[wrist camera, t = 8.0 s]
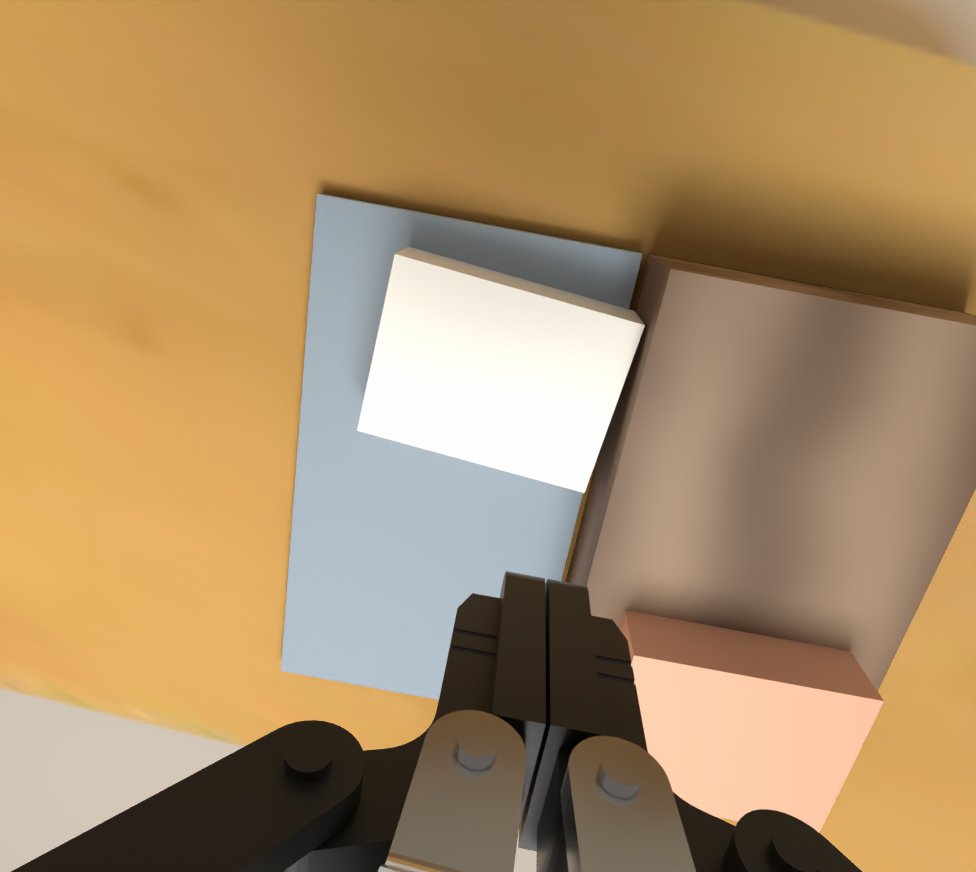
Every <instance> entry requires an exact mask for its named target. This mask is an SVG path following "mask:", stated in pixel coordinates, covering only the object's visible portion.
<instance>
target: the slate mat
mask: <svg viewBox="0 0 976 872" xmlns="http://www.w3.org/2000/svg"><path fill="white" fill-rule="evenodd" d="M408 246H409V247H412V248H416V249H419V250H423V251H426V252H430V253H433V254H437V255H440V256H444V257H447V258H451V259H454V260H458V261H461V262H465V263H468V264H472V265H475V266H479V267H482V268H486V269H489V270H493V271H496V272H500V273H503V274H507V275H510V276H514V277H517V278H521V279H524V280H528V281H531V282H535V283H538V284H542V285H545V286H549V287H552V288H556V289H559V290H563V291H566V292H570V293H573V294H577V295H580V296H584V297H587V298H591V299H594V300H598V301H601V302H605V303H608V304H612V305H615V306H619V307H622V308H626V309H629V307H630V303H631V299H632V295H633V291H634V287H635V283H636V279H637V275H638V271H639V267H640V263H641V259H642V255H643V254H641V253H640V252H635V251H629V250H624V249H618V248H613V247H608V246H602V245H597V244H592V243H586V242H581V241H575V240H570V239H565V238H559V237H554V236H548V235H543V234H538V233H532V232H527V231H521V230H516V229H511V228H505V227H500V226H494V225H489V224H484V223H478V222H473V221H467V220H462V219H457V218H451V217H446V216H440V215H435V214H430V213H424V212H419V211H413V210H408V209H403V208H397V207H392V206H386V205H381V204H376V203H370V202H365V201H359V200H354V199H349V198H343V197H338V196H333V195H327V194H317V199H316V212H315V226H314V239H313V252H312V265H311V279H310V292H309V305H308V318H307V331H306V345H305V358H304V371H303V384H302V398H301V411H300V424H299V437H298V451H297V464H296V477H295V490H294V504H293V517H292V530H291V543H290V557H289V570H288V583H287V596H286V610H285V623H284V636H283V649H282V663H281V671H284V672H290V673H295V674H301V675H306V676H312V677H317V678H322V679H328V680H333V681H339V682H344V683H350V684H355V685H361V686H366V687H372V688H377V689H383V690H388V691H394V692H399V693H405V694H410V695H415V696H421V697H426V698H432V699H437V700H439V697H440V692H441V687H442V682H443V677H444V672H445V667H446V662H447V658H448V653H449V648H450V643H451V638H452V633H453V628H454V623H455V618H456V613H457V608H458V607H459V606H460V605H461V604H462V603H463V602H464V601H465V600H466V599H467V598H468V597H469V596H470V595H471V594H472V593H475V594H480V595H485V596H491V597H496V598H500V593H501V588H502V583H503V579H504V575H505V572H506V571H509V572H514V573H519V574H525V575H530V576H535V577H540V578H545V583H546V581H547V579H552V580H557V581H561V580H562V576H563V572H564V568H565V564H566V560H567V556H568V552H569V548H570V544H571V539H572V535H573V531H574V527H575V523H576V519H577V515H578V511H579V507H580V503H581V499H582V495H583V492H579V491H575V490H572V489H568V488H564V487H561V486H557V485H553V484H550V483H546V482H543V481H539V480H535V479H532V478H528V477H524V476H521V475H517V474H513V473H510V472H506V471H502V470H499V469H495V468H491V467H488V466H484V465H481V464H477V463H473V462H470V461H466V460H462V459H459V458H455V457H451V456H448V455H444V454H440V453H437V452H433V451H429V450H426V449H422V448H419V447H415V446H411V445H408V444H404V443H400V442H397V441H393V440H389V439H386V438H382V437H378V436H375V435H371V434H368V433H364V432H360V431H357V428H358V424H359V419H360V414H361V410H362V405H363V400H364V396H365V391H366V386H367V382H368V377H369V372H370V368H371V363H372V358H373V353H374V349H375V344H376V339H377V335H378V330H379V325H380V321H381V316H382V311H383V307H384V302H385V297H386V293H387V288H388V283H389V278H390V274H391V269H392V264H393V260H394V255H395V254H396V253H397V252H399V251H401V250H403V249H404V248H406V247H408Z"/></svg>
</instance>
